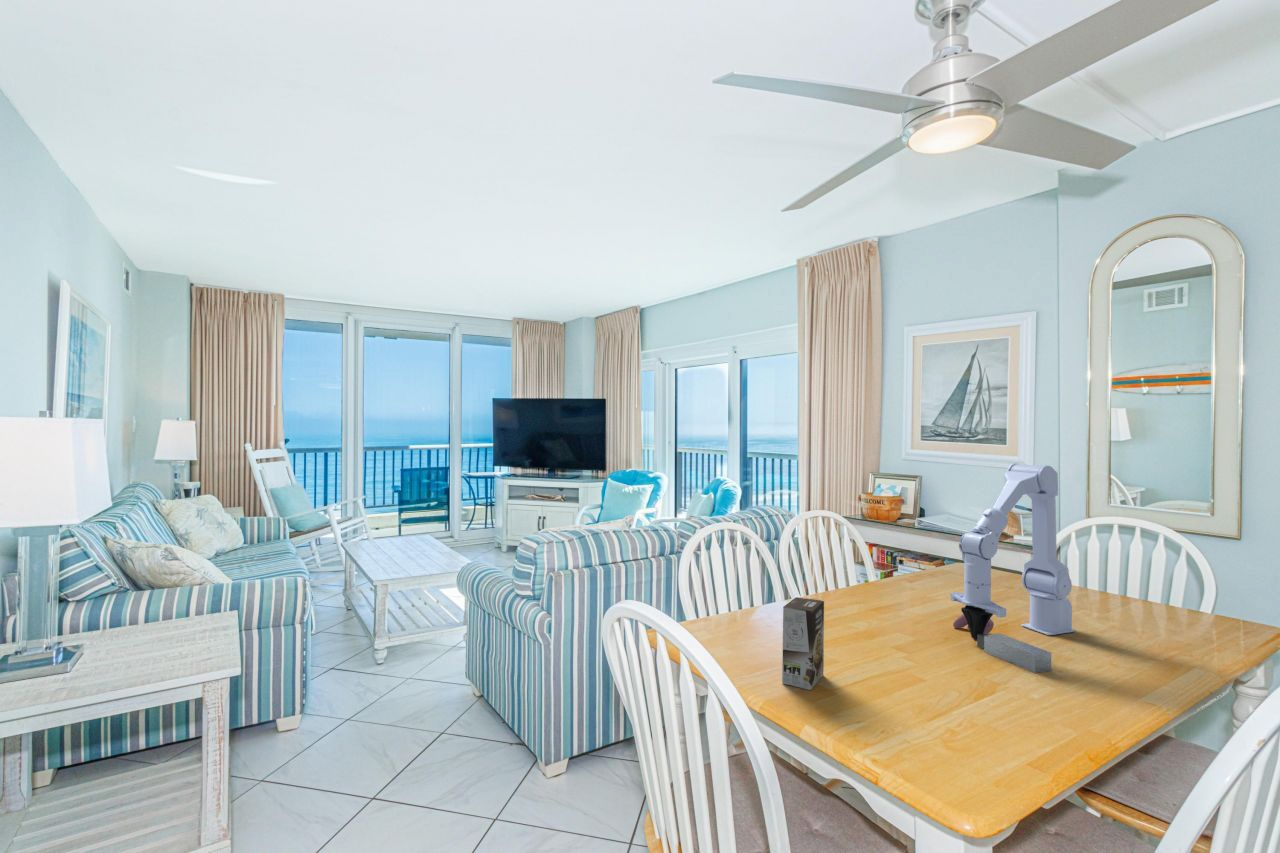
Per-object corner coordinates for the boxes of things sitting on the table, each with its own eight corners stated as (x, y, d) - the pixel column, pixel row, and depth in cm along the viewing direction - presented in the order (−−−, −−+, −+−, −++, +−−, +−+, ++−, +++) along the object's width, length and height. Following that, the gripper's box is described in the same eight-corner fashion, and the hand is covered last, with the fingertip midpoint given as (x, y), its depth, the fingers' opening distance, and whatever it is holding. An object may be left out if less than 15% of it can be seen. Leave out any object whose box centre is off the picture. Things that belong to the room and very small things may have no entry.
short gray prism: (983, 645, 152) (983, 633, 151) (1028, 664, 140) (1028, 650, 140) (977, 646, 151) (977, 634, 151) (1021, 665, 140) (1022, 651, 139)
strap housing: (999, 649, 149) (999, 633, 149) (1051, 670, 137) (1051, 652, 137) (984, 651, 147) (984, 635, 147) (1034, 673, 135) (1035, 655, 135)
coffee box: (812, 691, 126) (812, 611, 126) (781, 683, 129) (781, 606, 129) (824, 675, 134) (825, 600, 133) (795, 669, 137) (795, 595, 137)
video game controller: (987, 646, 155) (1000, 621, 155) (972, 638, 155) (984, 613, 155) (965, 633, 165) (976, 609, 165) (950, 625, 165) (961, 601, 165)
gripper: (941, 576, 158) (940, 630, 158) (990, 591, 144) (989, 650, 144) (963, 574, 160) (962, 627, 160) (1013, 588, 146) (1012, 646, 146)
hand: (976, 637), depth 152 cm, fingers closed
